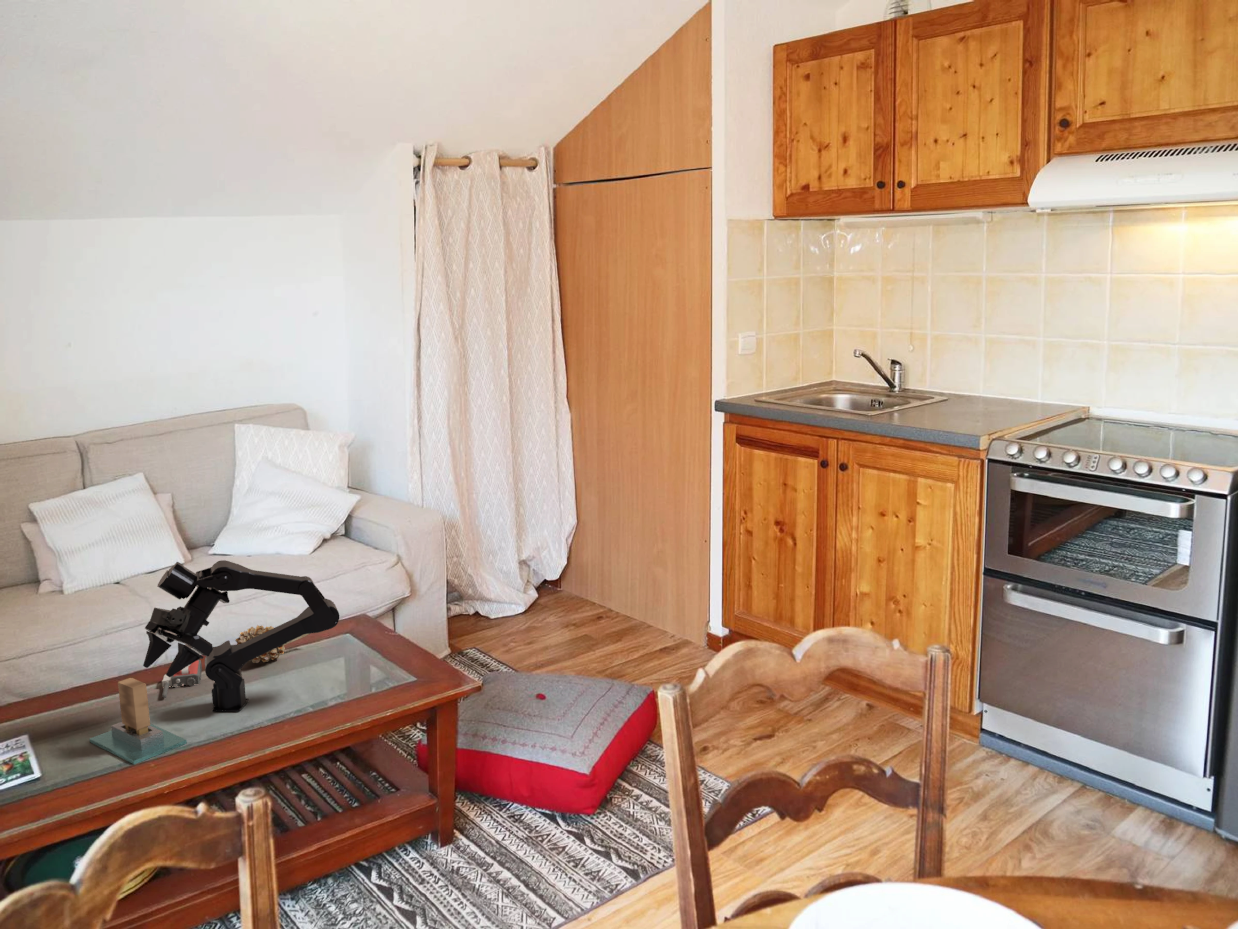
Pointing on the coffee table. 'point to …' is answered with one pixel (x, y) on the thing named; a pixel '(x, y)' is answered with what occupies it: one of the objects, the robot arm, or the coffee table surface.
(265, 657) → the dried banksia seed pod
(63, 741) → the coffee table surface
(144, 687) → the tan cardboard brick
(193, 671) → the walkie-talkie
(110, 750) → the teal holder base
